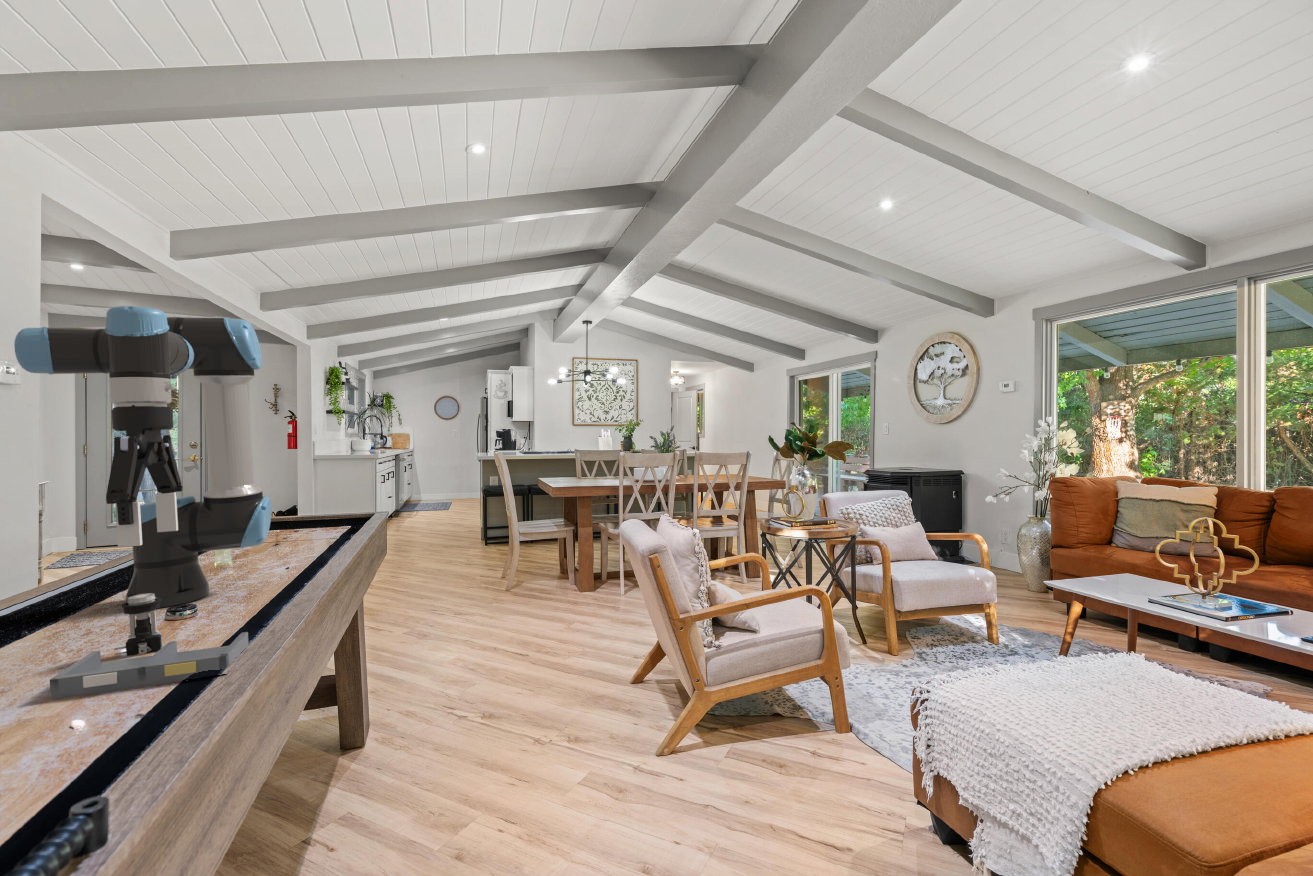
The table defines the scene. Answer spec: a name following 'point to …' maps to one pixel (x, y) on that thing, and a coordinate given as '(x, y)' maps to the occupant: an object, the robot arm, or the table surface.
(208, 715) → the table surface
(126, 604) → the push button
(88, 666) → the gray divided compartment tray
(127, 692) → the table surface
